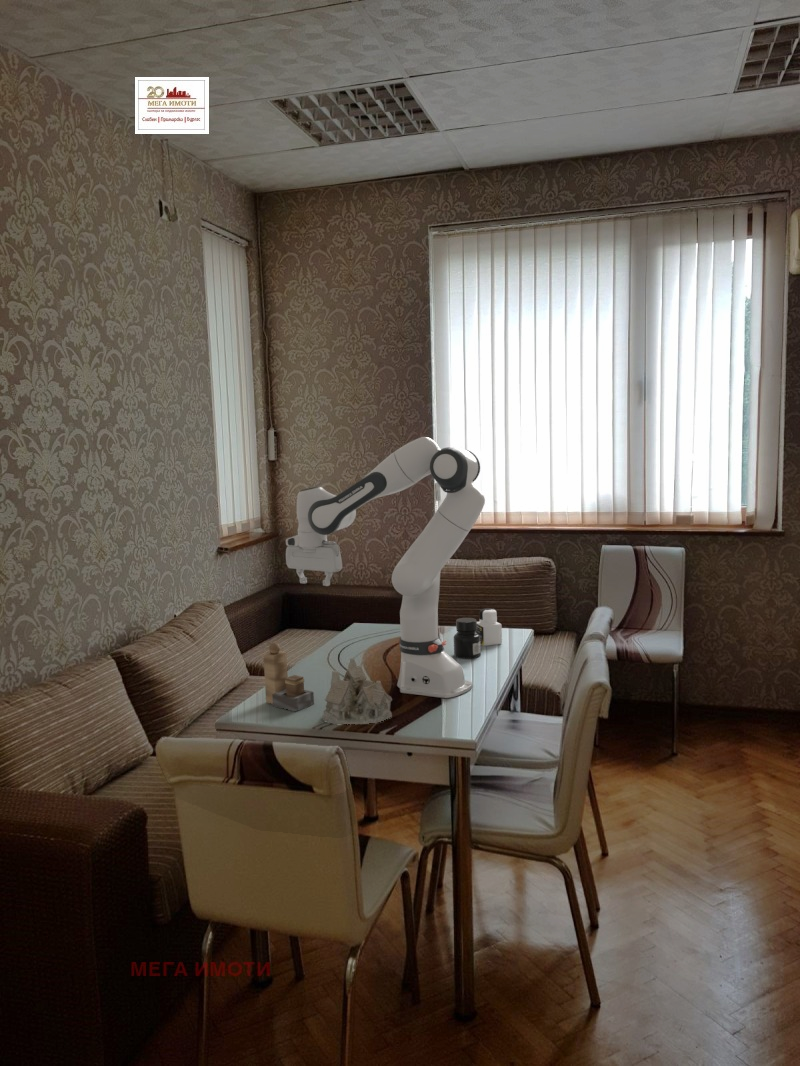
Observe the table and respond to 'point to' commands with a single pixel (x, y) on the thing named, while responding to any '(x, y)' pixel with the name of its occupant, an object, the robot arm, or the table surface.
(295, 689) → the small wooden block
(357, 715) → the ceramic cottage
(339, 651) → the table surface
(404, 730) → the table surface
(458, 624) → the ink bottle
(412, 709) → the table surface
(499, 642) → the medicine bottle
